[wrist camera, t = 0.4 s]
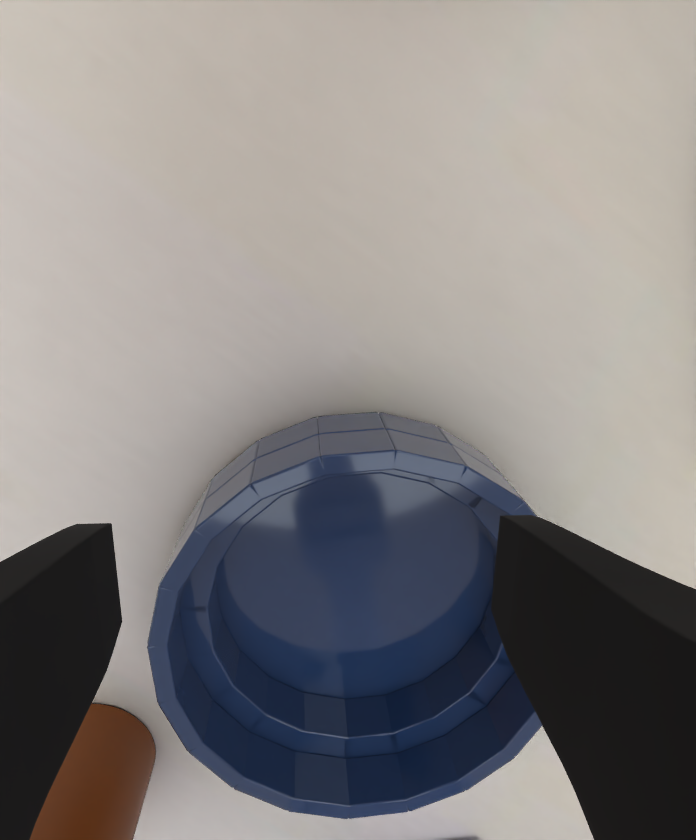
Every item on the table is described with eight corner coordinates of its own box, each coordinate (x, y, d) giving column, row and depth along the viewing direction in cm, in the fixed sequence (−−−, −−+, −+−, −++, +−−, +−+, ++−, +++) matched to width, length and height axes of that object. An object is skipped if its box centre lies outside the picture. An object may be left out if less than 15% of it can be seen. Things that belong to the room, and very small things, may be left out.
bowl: (521, 698, 25) (567, 794, 20) (203, 732, 24) (182, 839, 20) (532, 394, 21) (592, 434, 17) (153, 423, 20) (113, 472, 16)
